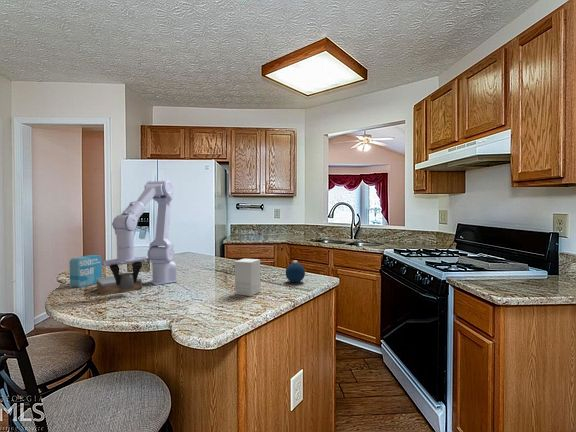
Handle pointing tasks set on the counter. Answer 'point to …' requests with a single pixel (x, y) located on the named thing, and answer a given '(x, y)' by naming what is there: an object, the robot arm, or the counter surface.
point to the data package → (85, 270)
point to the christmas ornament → (295, 272)
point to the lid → (110, 280)
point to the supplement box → (247, 277)
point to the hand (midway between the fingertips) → (126, 283)
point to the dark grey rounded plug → (126, 280)
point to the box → (117, 288)
